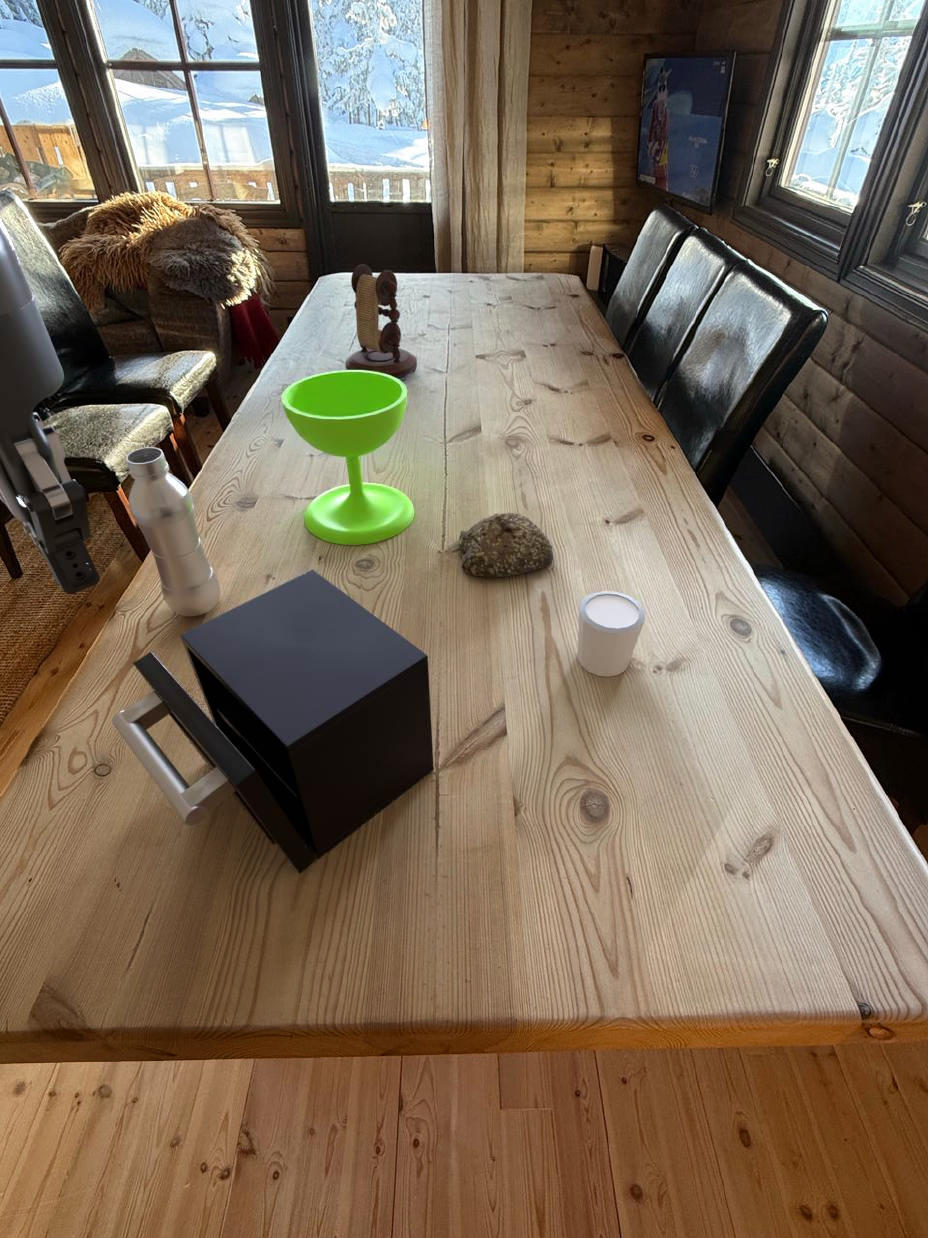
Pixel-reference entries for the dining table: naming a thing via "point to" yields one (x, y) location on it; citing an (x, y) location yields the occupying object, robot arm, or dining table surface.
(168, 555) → the silver bottle
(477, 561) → the bread roll
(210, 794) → the oven door
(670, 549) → the dining table surface
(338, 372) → the wineglass
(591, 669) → the white cylindrical container
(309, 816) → the oven
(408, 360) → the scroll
